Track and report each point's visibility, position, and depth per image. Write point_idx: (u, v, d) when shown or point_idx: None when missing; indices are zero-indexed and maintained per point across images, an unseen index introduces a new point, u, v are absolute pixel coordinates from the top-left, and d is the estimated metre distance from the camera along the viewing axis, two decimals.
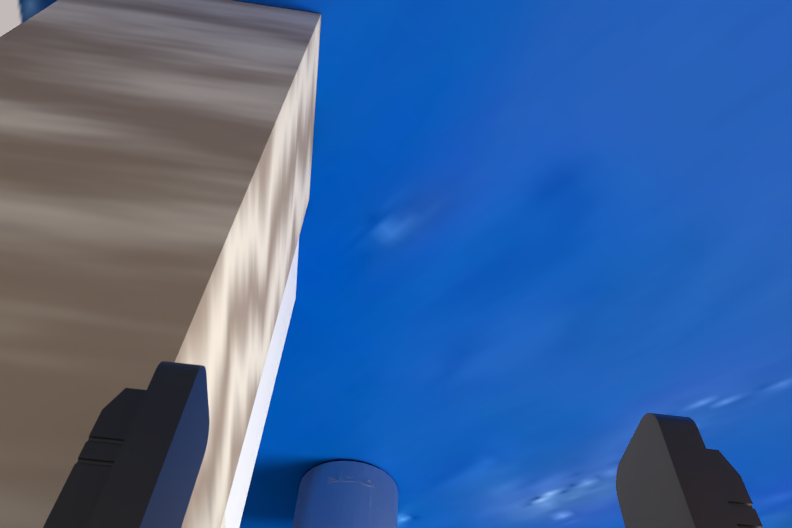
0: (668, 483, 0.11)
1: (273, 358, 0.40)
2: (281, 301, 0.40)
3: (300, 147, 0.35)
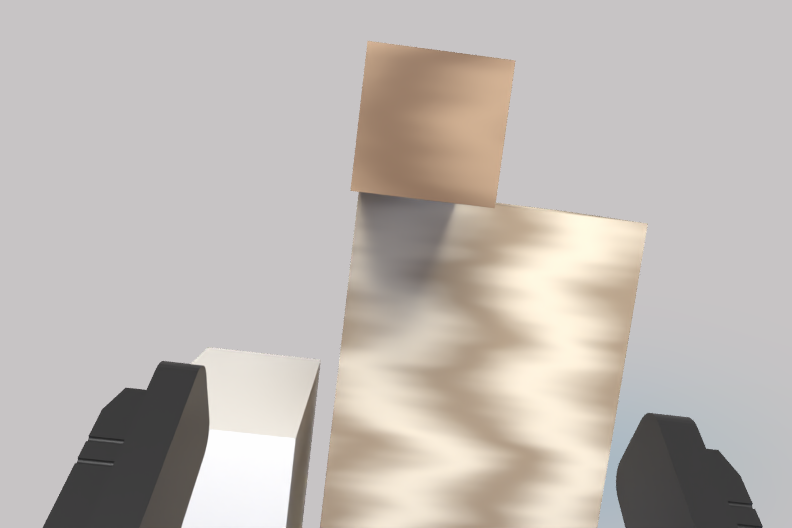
0: (668, 483, 0.11)
1: None
2: None
3: None
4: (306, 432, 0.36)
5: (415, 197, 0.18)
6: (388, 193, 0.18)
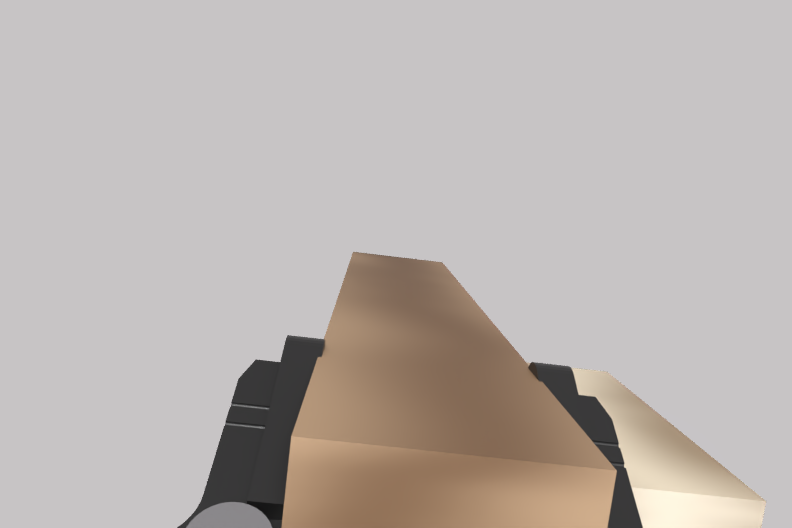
0: None
1: None
2: None
3: None
4: None
5: None
6: None
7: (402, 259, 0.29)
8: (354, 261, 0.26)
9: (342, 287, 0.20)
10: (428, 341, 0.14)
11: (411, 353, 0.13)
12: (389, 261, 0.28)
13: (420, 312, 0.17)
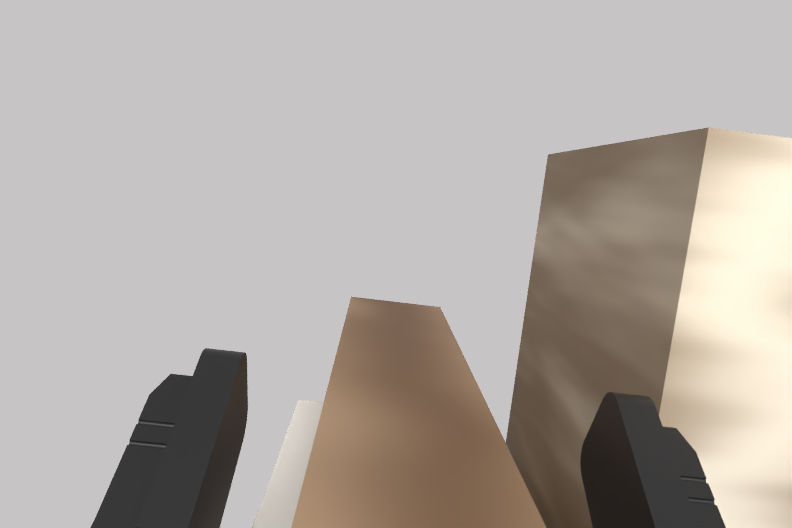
0: (624, 458, 0.11)
1: None
2: None
3: None
4: None
5: None
6: None
7: (400, 305, 0.29)
8: (351, 312, 0.26)
9: (337, 355, 0.20)
10: (419, 436, 0.14)
11: (400, 457, 0.13)
12: (387, 309, 0.28)
13: (413, 390, 0.17)
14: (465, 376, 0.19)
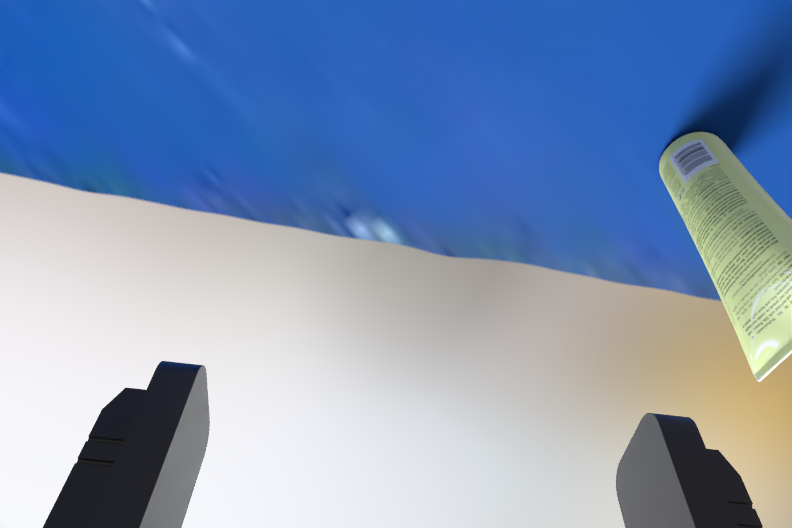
0: (668, 483, 0.11)
1: None
2: None
3: None
4: None
5: None
6: None
7: None
8: None
9: None
10: None
11: None
12: None
13: None
14: None
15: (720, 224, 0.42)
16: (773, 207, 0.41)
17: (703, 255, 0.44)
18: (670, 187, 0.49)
